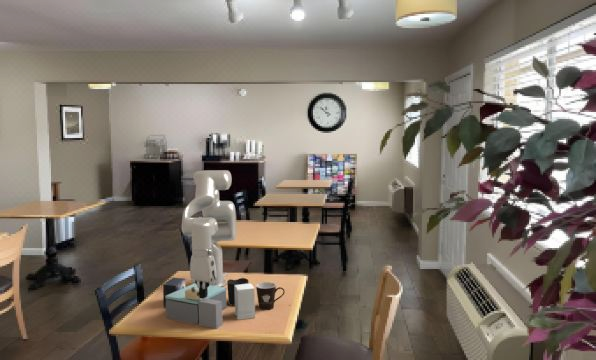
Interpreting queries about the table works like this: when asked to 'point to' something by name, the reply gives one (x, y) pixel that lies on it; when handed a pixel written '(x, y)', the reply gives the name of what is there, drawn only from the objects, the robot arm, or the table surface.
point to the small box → (172, 287)
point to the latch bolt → (192, 294)
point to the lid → (180, 293)
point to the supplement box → (244, 301)
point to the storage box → (198, 311)
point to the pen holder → (231, 288)
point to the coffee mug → (267, 295)
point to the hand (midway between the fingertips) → (203, 297)
